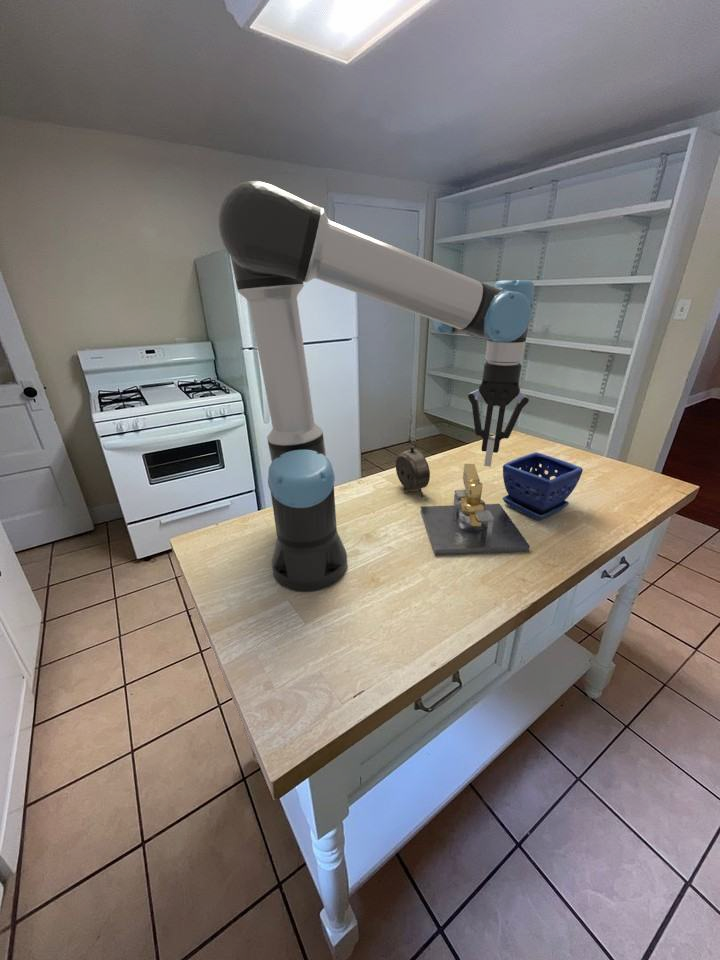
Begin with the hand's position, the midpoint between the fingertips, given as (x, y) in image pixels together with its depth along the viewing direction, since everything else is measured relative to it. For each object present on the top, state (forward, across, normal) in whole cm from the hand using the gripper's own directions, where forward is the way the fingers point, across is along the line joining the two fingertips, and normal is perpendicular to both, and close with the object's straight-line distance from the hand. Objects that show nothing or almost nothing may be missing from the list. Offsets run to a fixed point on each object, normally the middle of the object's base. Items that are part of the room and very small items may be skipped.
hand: (487, 464), depth 91 cm
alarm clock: (+13, +19, -4) cm, 24 cm away
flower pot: (+13, -13, -5) cm, 19 cm away
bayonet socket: (+13, +2, +10) cm, 17 cm away
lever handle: (+7, +2, +8) cm, 11 cm away
